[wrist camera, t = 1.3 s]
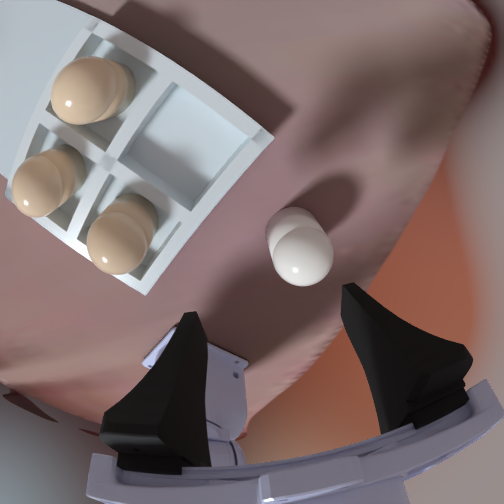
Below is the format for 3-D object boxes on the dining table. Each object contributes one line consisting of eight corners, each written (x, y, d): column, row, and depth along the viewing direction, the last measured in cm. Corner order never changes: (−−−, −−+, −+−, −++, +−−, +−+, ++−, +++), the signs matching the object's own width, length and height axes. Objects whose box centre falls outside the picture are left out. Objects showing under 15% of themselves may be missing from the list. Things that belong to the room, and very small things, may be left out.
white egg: (327, 228, 22) (354, 266, 17) (292, 263, 24) (308, 308, 19) (291, 196, 21) (312, 229, 16) (254, 235, 22) (263, 278, 17)
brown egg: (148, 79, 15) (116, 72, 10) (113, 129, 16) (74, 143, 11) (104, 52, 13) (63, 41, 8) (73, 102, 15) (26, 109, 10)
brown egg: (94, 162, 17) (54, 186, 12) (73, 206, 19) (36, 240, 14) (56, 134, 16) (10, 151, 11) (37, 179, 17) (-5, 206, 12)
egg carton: (268, 133, 18) (274, 137, 16) (151, 277, 23) (145, 295, 21) (11, -16, 6) (-4, -20, 4) (-51, 119, 12) (-66, 124, 9)
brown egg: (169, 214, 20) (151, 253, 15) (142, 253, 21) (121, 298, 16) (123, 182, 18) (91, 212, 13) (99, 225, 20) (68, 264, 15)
